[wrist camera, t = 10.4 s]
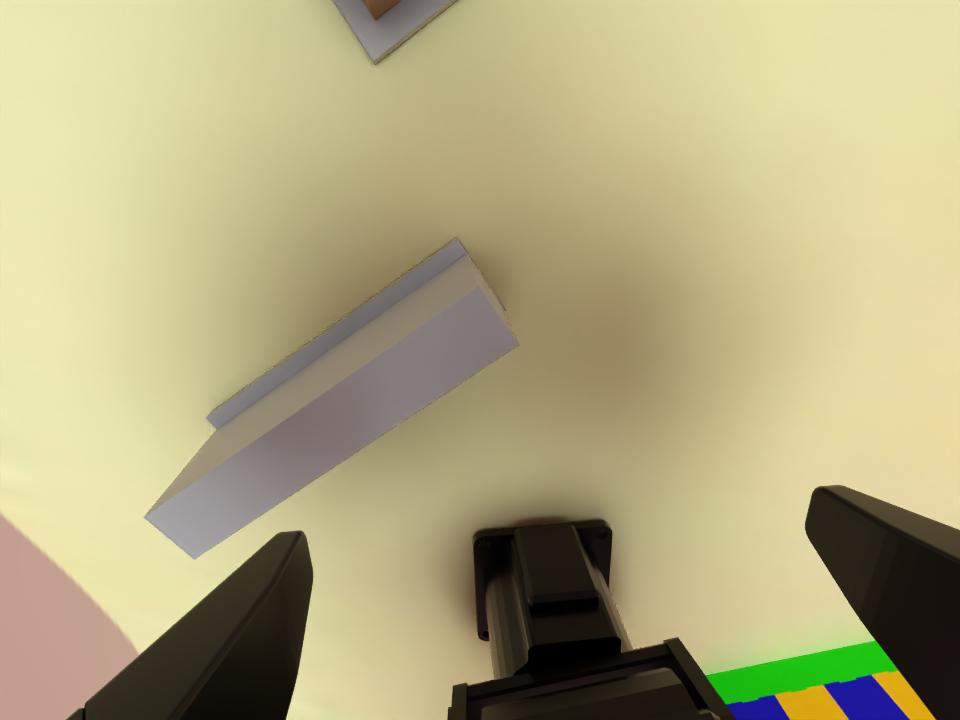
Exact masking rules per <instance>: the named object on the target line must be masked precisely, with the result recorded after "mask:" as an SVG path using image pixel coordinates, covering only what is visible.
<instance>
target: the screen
mask: <svg viewBox="0 0 960 720" xmlns="http://www.w3.org/2000/svg"><path fill="white" fill-rule="evenodd" d="M504 311H505V308H504V306H503V305H502V303H501V302H500V300H499V299H498V297H497V296H496V294H495V293H494V291H493V290H492V289H491V287H490V286H489V284H488V283H487V281H486V280H485V278H484V277H483V275H482V274H481V272H480V271H479V270H478V268H477V267H476V265H475V264H474V262H473V261H472V259H471V258H470V256H469V255H468V253H467V252H466V251H465V249H464V248H463V246H462V245H461V243H460V242H459V240H458V239H457V238H455V239H454V240H452V241H451V242H450V243H448V244H447V245H445V246H444V247H443V248H441V249H440V250H438V251H437V252H435V253H434V254H433V255H431V256H430V257H428V258H427V259H426V260H424V261H423V262H421V263H420V264H419V265H417V266H416V267H414V268H413V269H412V270H410V271H409V272H407V273H406V274H404V275H403V276H402V277H400V278H399V279H397V280H396V281H395V282H393V283H392V284H390V285H389V286H388V287H386V288H385V289H383V290H382V291H381V292H379V293H378V294H376V295H375V296H373V297H372V298H371V299H369V300H368V301H366V302H365V303H364V304H362V305H361V306H359V307H358V308H357V309H355V310H354V311H352V312H351V313H350V314H348V315H347V316H345V317H344V318H342V319H341V320H340V321H338V322H337V323H335V324H334V325H333V326H331V327H330V328H328V329H327V330H326V331H324V332H323V333H321V334H320V335H319V336H317V337H316V338H314V339H313V340H311V341H310V342H309V343H307V344H306V345H304V346H303V347H302V348H300V349H299V350H297V351H296V352H295V353H293V354H292V355H290V356H289V357H288V358H286V359H285V360H283V361H282V362H280V363H279V364H278V365H276V366H275V367H273V368H272V369H271V370H269V371H268V372H266V373H265V374H264V375H262V376H261V377H259V378H258V379H257V380H255V381H254V382H252V383H251V384H250V385H248V386H247V387H245V388H244V389H242V390H241V391H240V392H238V393H237V394H235V395H234V396H233V397H231V398H230V399H228V400H227V401H226V402H224V403H223V404H221V405H220V406H219V407H217V408H216V409H214V410H213V411H212V412H211V413H210V414H209V415H208V416H207V417H206V419H207V420H208V421H209V422H210V423H211V424H212V425H213V426H214V427H215V428H216V429H217V430H216V431H215V432H214V433H213V434H212V436H211V437H210V438H209V439H208V440H207V442H206V443H205V444H204V445H203V446H202V448H201V449H200V450H199V451H198V452H197V454H196V455H195V456H194V457H193V458H192V460H191V461H190V462H189V463H188V464H187V466H186V467H185V468H184V469H183V470H182V472H181V473H180V474H179V475H178V476H177V478H176V479H175V480H174V481H173V482H172V484H171V485H170V486H169V487H168V488H167V490H166V491H165V492H164V493H163V494H162V496H161V497H160V498H159V499H158V500H157V502H156V503H155V504H154V505H153V506H152V508H151V509H150V510H149V511H148V513H147V514H146V515H145V516H144V518H145V519H146V520H147V521H149V522H150V523H151V524H152V525H153V526H155V527H156V528H157V529H158V530H159V531H161V532H162V533H163V534H164V535H165V536H167V537H168V538H169V539H170V540H171V541H173V542H174V543H175V544H176V545H177V546H179V547H180V548H181V549H182V550H183V551H185V552H186V553H187V554H188V555H190V556H191V557H192V558H193V559H196V558H197V557H199V556H200V555H202V554H203V553H205V552H206V551H208V550H209V549H211V548H213V547H214V546H216V545H217V544H219V543H220V542H222V541H223V540H225V539H226V538H228V537H229V536H231V535H232V534H234V533H235V532H237V531H238V530H240V529H241V528H243V527H244V526H246V525H247V524H249V523H250V522H252V521H253V520H255V519H256V518H258V517H259V516H261V515H262V514H264V513H265V512H267V511H269V510H270V509H272V508H273V507H275V506H276V505H278V504H279V503H281V502H282V501H284V500H285V499H287V498H288V497H290V496H291V495H293V494H294V493H296V492H297V491H299V490H300V489H302V488H303V487H305V486H306V485H308V484H309V483H311V482H312V481H314V480H315V479H317V478H318V477H320V476H321V475H323V474H324V473H326V472H328V471H329V470H331V469H332V468H334V467H335V466H337V465H338V464H340V463H341V462H343V461H344V460H346V459H347V458H349V457H350V456H352V455H353V454H355V453H356V452H358V451H359V450H361V449H362V448H364V447H365V446H367V445H368V444H370V443H371V442H373V441H374V440H376V439H377V438H379V437H380V436H382V435H384V434H385V433H387V432H388V431H390V430H391V429H393V428H394V427H396V426H397V425H399V424H400V423H402V422H403V421H405V420H406V419H408V418H409V417H411V416H412V415H414V414H415V413H417V412H418V411H420V410H421V409H423V408H424V407H426V406H427V405H429V404H430V403H432V402H433V401H435V400H436V399H438V398H439V397H441V396H443V395H444V394H446V393H447V392H449V391H450V390H452V389H453V388H455V387H456V386H458V385H459V384H461V383H462V382H464V381H465V380H467V379H468V378H470V377H471V376H473V375H474V374H476V373H477V372H479V371H480V370H482V369H483V368H485V367H486V366H488V365H489V364H491V363H492V362H494V361H495V360H497V359H498V358H500V357H502V356H503V355H505V354H506V353H508V352H509V351H511V350H512V349H514V348H515V347H517V346H518V345H519V343H518V341H517V339H516V337H515V335H514V333H513V330H512V328H511V326H510V324H509V322H508V320H507V318H506V316H505V314H504Z"/></svg>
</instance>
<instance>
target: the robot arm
mask: <svg viewBox="0 0 960 720" xmlns="http://www.w3.org/2000/svg"><path fill="white" fill-rule="evenodd" d="M805 530H806V534H807V536H808V538H809V540H810V542H811V543H812V545H813V546H814V548H815V550H816V551H817V553H818V554H819V556H820V558H821V559H822V561H823V562H824V564H825V565H826V567H827V569H828V570H829V572H830V573H831V575H832V577H833V578H834V580H835V581H836V583H837V585H838V586H839V588H840V589H841V591H842V592H843V594H844V596H845V597H846V599H847V600H848V602H849V604H850V605H851V607H852V608H853V610H854V611H855V613H856V614H857V616H858V617H859V619H860V620H861V621H862V623H863V624H864V625H865V627H866V628H867V630H868V631H869V632H870V634H871V635H872V636H873V638H874V639H875V640H876V642H877V643H878V644H879V645H880V647H881V648H882V649H883V651H884V652H885V653H886V655H887V656H888V657H889V659H890V660H891V661H892V663H893V664H894V665H895V667H896V668H897V669H898V671H899V672H900V673H901V674H902V676H903V677H904V678H905V680H906V681H907V682H908V684H909V685H910V686H911V688H912V689H913V690H914V692H915V693H916V694H917V696H918V697H919V698H920V700H921V701H922V702H923V704H924V705H925V706H926V707H927V709H928V710H929V711H930V713H931V714H932V715H933V717H934V718H935V719H936V720H960V530H958V529H955V528H953V527H950V526H948V525H945V524H942V523H940V522H937V521H934V520H932V519H929V518H927V517H924V516H921V515H919V514H916V513H913V512H911V511H908V510H905V509H903V508H900V507H898V506H895V505H892V504H890V503H887V502H884V501H882V500H879V499H877V498H874V497H871V496H869V495H866V494H863V493H861V492H858V491H855V490H853V489H850V488H848V487H845V486H842V485H830V486H820V487H817V488H816V489H815V490H814V491H813V493H812V496H811V500H810V504H809V509H808V513H807V517H806V521H805ZM599 531H603V532H602V533H600V534H597V533H598V532H599ZM482 541H487V543H485V544H481V543H480V542H482ZM611 547H612V530H611V528H610V526H609V524H608V523H607V522H605V521H589V522H578V523H566V524H555V525H543V526H531V527H520V528H508V529H496V530H485V531H480V532H478V533H476V534H475V535H474V537H473V556H474V575H475V594H476V613H477V631H478V637H479V638H480V639H481V640H483V641H490V648H491V656H492V665H493V673H494V680H491V681H486V682H481V683H477V684H472V685H468V684H467V683H463V684H459V685H454V686H453V693H452V707H449V708H448V719H447V720H736V718H735V717H734V715H733V714H732V712H731V711H730V709H729V708H728V707H727V705H726V704H725V702H724V701H723V700H722V698H721V697H720V695H719V694H718V693H717V691H716V690H715V688H714V687H713V686H712V684H711V683H710V681H709V680H708V679H707V677H706V676H705V674H704V673H703V672H702V670H701V669H700V667H699V666H698V665H697V663H696V662H695V660H694V659H693V658H692V656H691V655H690V653H689V652H688V651H687V649H686V648H685V646H684V645H683V644H682V642H681V641H680V639H679V638H678V637H677V638H672V639H668V640H664V643H663V644H658V645H653V646H649V647H644V648H639V649H635V650H633V648H632V645H631V643H630V641H629V638H628V636H627V633H626V631H625V628H624V626H623V623H622V621H621V619H620V616H619V614H618V611H617V609H616V606H615V604H614V602H613V599H612V597H611V594H610V592H609V575H610V561H611ZM312 584H313V568H312V562H311V558H310V553H309V548H308V543H307V538H306V535H305V533H304V532H302V531H290V532H281V533H278V534H277V535H275V536H274V537H273V538H272V539H271V540H269V541H268V542H267V543H266V544H265V545H264V546H263V547H261V548H260V549H259V550H258V551H257V552H256V553H255V554H254V555H252V556H251V557H250V558H249V559H248V560H247V561H246V562H244V563H243V564H242V565H241V566H240V567H239V568H238V569H237V570H235V571H234V572H233V573H232V574H231V575H230V576H229V577H227V578H226V579H225V580H224V581H223V582H222V583H221V584H220V585H218V586H217V587H216V588H215V589H214V590H213V591H212V592H210V593H209V594H208V595H207V596H206V597H205V598H204V599H202V600H201V601H200V602H199V603H198V604H197V605H196V606H195V607H193V608H192V609H191V610H190V611H189V612H188V613H187V614H185V615H184V616H183V617H182V618H181V619H180V620H179V621H178V622H176V623H175V624H174V625H173V626H172V627H171V628H170V629H168V630H167V631H166V632H165V633H164V634H163V635H162V636H161V637H159V638H158V639H157V640H156V641H155V642H154V643H153V644H151V645H150V646H149V647H148V648H147V649H146V650H145V651H144V652H142V653H141V654H140V655H139V656H138V657H137V658H136V659H134V660H133V661H132V662H131V663H130V664H129V665H128V666H127V667H125V669H123V670H122V671H121V672H120V673H119V674H117V675H116V676H115V677H114V678H113V679H112V680H111V681H110V682H108V683H107V684H106V685H105V686H104V687H103V688H102V689H100V690H99V691H98V692H97V693H96V694H95V695H94V696H92V698H90V699H89V700H88V701H87V702H86V704H85V707H84V708H79V709H77V710H76V711H75V712H74V713H73V714H72V715H71V716H70V717H68V718H67V719H66V720H286V717H287V713H288V710H289V706H290V702H291V699H292V695H293V691H294V687H295V683H296V679H297V675H298V669H299V664H300V658H301V652H302V646H303V640H304V634H305V628H306V621H307V615H308V609H309V603H310V597H311V591H312ZM486 630H488V631H486Z"/></svg>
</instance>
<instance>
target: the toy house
mask: <svg viewBox="0 0 960 720" xmlns="http://www.w3.org/2000/svg"><path fill="white" fill-rule="evenodd" d="M706 677H707V679H708V680H709V681H710V683H711V684H712V686H713V687H714V688H715V690H716V691H717V693H718V694H719V695H720V697H721V698H722V700H723V701H724V702H725V704H726V705H727V707H728V708H729V709H730V711H731V712H732V714H733V715H734V717H735V718H736V720H936V719H935V718H934V717H933V715H932V714H931V713H930V711H929V710H928V709H927V707H926V706H925V705H924V704H923V702H922V701H921V700H920V698H919V697H918V696H917V694H916V693H915V692H914V690H913V689H912V688H911V686H910V685H909V684H908V682H907V681H906V680H905V678H904V677H903V676H902V674H901V673H900V672H899V671H898V669H897V668H896V667H895V665H894V664H893V663H892V661H891V660H890V659H889V657H888V656H887V655H886V653H885V652H884V651H883V649H882V648H881V647H880V645H879V644H878V643H877V642H876V641H872V642H868V643H863V644H858V645H853V646H848V647H843V648H838V649H833V650H828V651H823V652H819V653H814V654H809V655H804V656H799V657H794V658H789V659H784V660H779V661H774V662H770V663H765V664H760V665H755V666H750V667H745V668H740V669H735V670H730V671H725V672H721V673H716V674H711V675H706Z"/></svg>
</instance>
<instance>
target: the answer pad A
mask: <svg viewBox="0 0 960 720" xmlns="http://www.w3.org/2000/svg"><path fill="white" fill-rule="evenodd" d="M333 1H334V3H335V4H336V6H337V7H338V9H339V10H340V12H341V13H342V15H343V16H344V18H345V19H346V21H347V23H348V24H349V26H350V27H351V29H352V30H353V32H354V33H355V35H356V36H357V38H358V39H359V41H360V42H361V44H362V45H363V47H364V48H365V50H366V51H367V53H368V54H369V56H370V57H371V59H372V60H373V62H374V64H375V65H376V64H377V63H378V62H379V61H381V60H382V59H383V58H384V57H386V56H387V55H388V54H390V53H391V52H392V51H393V50H395V49H396V48H397V47H398V46H400V45H401V44H402V43H404V42H405V41H406V40H407V39H409V38H410V37H411V36H412V35H414V34H415V33H416V32H417V31H419V30H420V29H421V28H423V27H424V26H425V25H426V24H428V23H429V22H430V21H431V20H433V19H434V18H435V17H437V16H438V15H439V14H440V13H442V12H443V11H444V10H445V9H447V8H448V7H449V6H450V5H452V4H453V3H454V2H456V1H457V0H401V1H400V2H398V3H397V4H396V5H395V6H393V7H392V8H391V9H390V10H388V11H387V12H386V13H385V14H383V15H382V16H381V17H379V18H378V19H377V20H376V21H375V19H374V18H373V16H372V15H371V13H370V11H369V10H368V8H367V7H366V5H365V4H364V2H363V0H333Z"/></svg>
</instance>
